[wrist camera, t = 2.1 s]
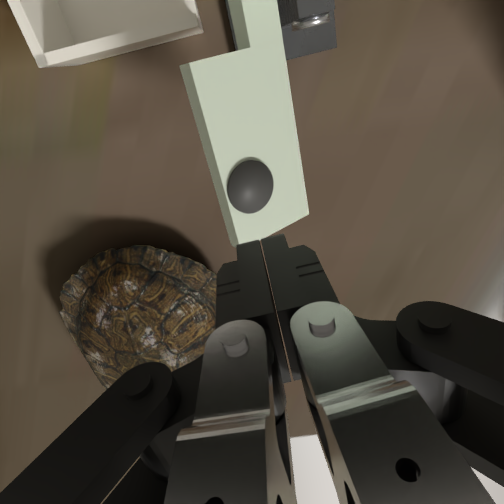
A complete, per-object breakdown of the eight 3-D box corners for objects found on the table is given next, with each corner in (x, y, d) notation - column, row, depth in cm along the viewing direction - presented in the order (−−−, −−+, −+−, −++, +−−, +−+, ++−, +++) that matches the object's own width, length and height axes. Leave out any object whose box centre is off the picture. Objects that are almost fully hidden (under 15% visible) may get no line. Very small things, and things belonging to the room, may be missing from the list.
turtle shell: (206, 236, 26) (262, 436, 32) (213, 211, 34) (256, 373, 41) (-1, 284, 26) (95, 473, 33) (56, 248, 35) (123, 403, 41)
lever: (432, -201, 17) (527, -270, 14) (422, 145, 26) (480, 149, 22) (90, -243, 10) (125, -395, 7) (231, 244, 19) (275, 271, 16)
